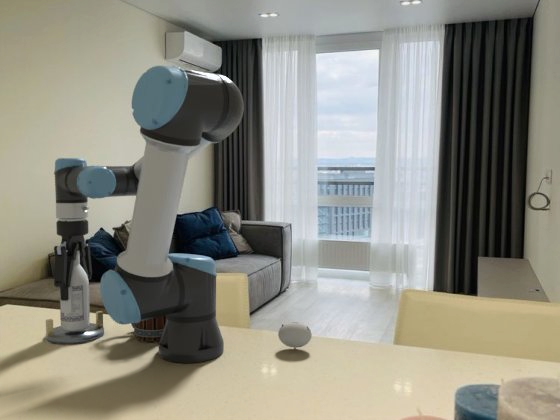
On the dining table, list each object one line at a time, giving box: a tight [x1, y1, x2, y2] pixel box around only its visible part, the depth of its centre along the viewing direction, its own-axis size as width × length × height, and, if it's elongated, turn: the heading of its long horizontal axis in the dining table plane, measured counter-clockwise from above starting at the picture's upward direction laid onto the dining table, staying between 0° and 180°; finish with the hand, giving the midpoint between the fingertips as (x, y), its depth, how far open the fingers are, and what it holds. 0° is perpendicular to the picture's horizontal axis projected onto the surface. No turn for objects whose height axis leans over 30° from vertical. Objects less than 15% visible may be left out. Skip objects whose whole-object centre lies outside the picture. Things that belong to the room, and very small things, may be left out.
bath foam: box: [59, 250, 91, 331], centre depth 135 cm, size 7×7×20 cm
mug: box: [131, 315, 166, 343], centre depth 137 cm, size 16×11×15 cm
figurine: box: [277, 321, 313, 351], centre depth 126 cm, size 8×6×7 cm
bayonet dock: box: [45, 310, 105, 346], centre depth 136 cm, size 14×14×5 cm
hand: (74, 308), depth 135 cm, fingers closed on bath foam, 7 cm apart
